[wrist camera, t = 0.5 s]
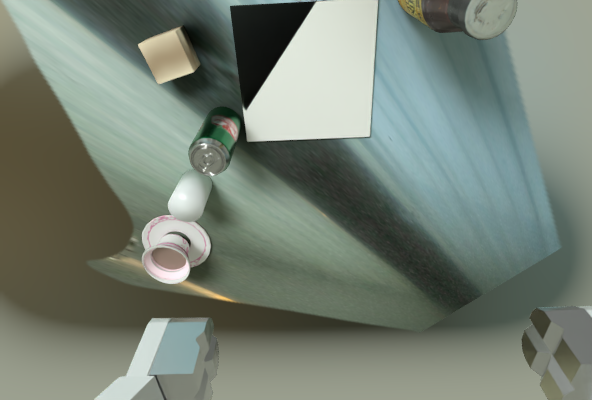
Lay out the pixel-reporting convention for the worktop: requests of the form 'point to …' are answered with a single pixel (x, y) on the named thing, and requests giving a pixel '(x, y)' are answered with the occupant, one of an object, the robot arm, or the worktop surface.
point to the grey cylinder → (190, 196)
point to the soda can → (215, 142)
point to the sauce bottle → (464, 15)
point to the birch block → (170, 55)
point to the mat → (306, 68)
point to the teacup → (173, 248)
